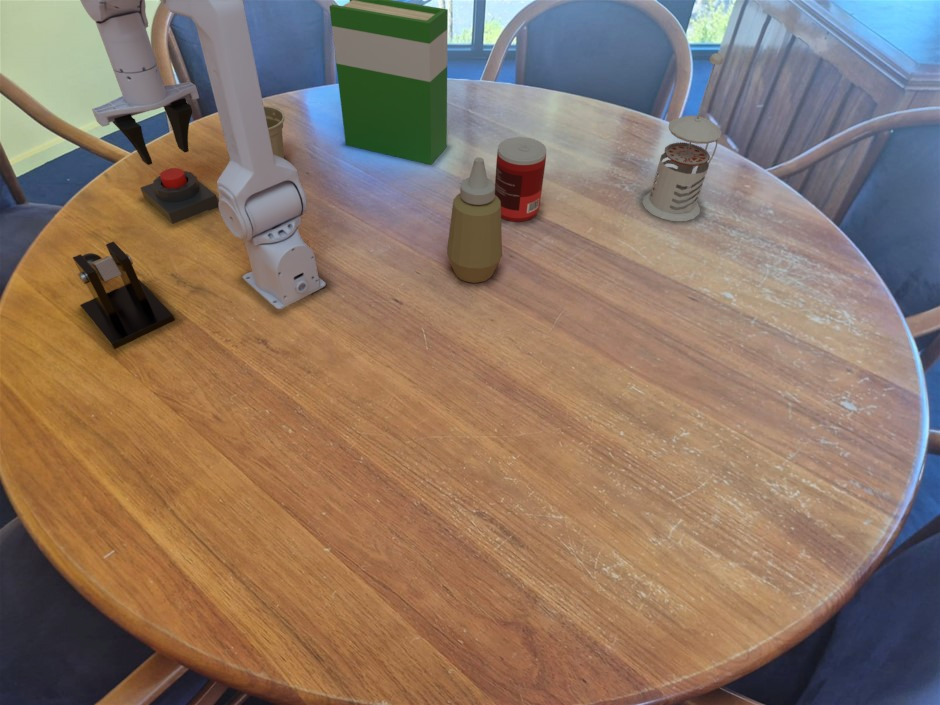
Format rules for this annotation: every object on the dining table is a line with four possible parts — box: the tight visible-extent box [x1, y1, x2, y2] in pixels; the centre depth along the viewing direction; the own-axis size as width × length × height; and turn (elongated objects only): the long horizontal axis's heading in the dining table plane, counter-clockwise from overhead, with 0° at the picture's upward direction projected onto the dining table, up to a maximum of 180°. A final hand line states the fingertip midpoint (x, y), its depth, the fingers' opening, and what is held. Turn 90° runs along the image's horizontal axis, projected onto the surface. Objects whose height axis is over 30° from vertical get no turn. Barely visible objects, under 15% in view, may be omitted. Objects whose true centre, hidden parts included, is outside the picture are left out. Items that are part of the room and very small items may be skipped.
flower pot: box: [263, 105, 286, 159], centre depth 108 cm, size 9×9×9 cm
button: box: [159, 167, 187, 188], centre depth 99 cm, size 4×4×2 cm
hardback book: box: [329, 0, 449, 166], centre depth 109 cm, size 18×7×24 cm, turn 69°
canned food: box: [494, 136, 547, 223], centre depth 100 cm, size 8×8×11 cm
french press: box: [641, 52, 724, 222], centre depth 98 cm, size 10×12×25 cm
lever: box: [82, 252, 122, 283], centre depth 81 cm, size 13×3×3 cm, turn 45°
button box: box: [140, 170, 219, 225], centre depth 100 cm, size 10×8×4 cm
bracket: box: [72, 241, 176, 350], centre depth 79 cm, size 10×8×10 cm
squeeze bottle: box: [446, 157, 503, 283], centre depth 85 cm, size 8×8×18 cm
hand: (165, 155), depth 96 cm, fingers open, 5 cm apart
